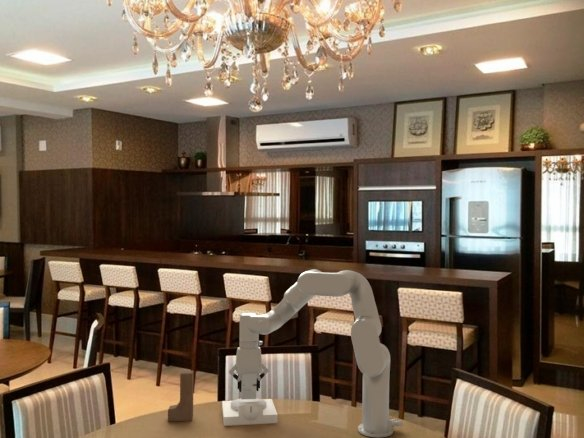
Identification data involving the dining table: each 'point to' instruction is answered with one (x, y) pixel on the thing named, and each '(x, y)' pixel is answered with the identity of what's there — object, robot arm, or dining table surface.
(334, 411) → the dining table surface
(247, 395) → the skincare box
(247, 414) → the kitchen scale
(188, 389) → the wooden block
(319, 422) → the dining table surface
